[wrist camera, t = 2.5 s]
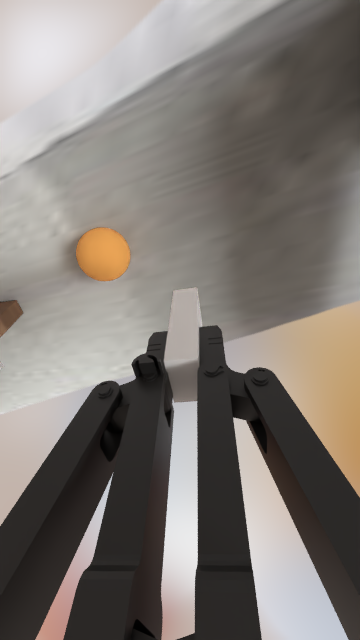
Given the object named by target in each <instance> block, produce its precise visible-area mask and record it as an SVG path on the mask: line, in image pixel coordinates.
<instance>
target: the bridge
mask: <svg viewBox="0 0 360 640" xmlns="http://www.w3.org/2000/svg"><path fill="white" fill-rule="evenodd" d="M22 314H23V311H22V309H21V308H20V306H19V304H18V302H17V300H14V301H6V302H0V337H1V336H2V335H3V334H4V333H5V332H6V331H7V330H8V329H9V328H10V327H11V326H12V325H13V324H14V323H15V321H16V320H17V319H18V318H19V317H20V316H21V315H22Z"/></svg>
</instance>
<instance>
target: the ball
mask: <svg viewBox="0 0 360 640" xmlns="http://www.w3.org/2000/svg"><path fill="white" fill-rule="evenodd" d="M76 257H77V261H78V264H79V266H80V268H81V269H82V270H83V272H84V273H85V274H87V275H88V276H89V277H91V278H93V279H95V280H98V281H111V280H114V279H116V278H118V277H120V276H121V275H122V274H123V273H124V272H125V271H126V269H127V268H128V265H129V262H130V249H129V246H128V244H127V242H126V240H125V239H124V238H123V237H122V236H121V235H120V234H119V233H118V232H116V231H114V230H112V229H109V228H95V229H92V230H89V231H88V232H86V233H85V234H84V235H83V236H82V237H81V238H80V240H79V242H78V245H77V248H76Z"/></svg>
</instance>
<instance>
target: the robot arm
mask: <svg viewBox="0 0 360 640" xmlns="http://www.w3.org/2000/svg"><path fill="white" fill-rule="evenodd" d="M132 367H133V370H134V373H135V376H136V379H135V380H133V381H131V382H129V383H126V384H123V385H120V386H119V385H118V383H116V382H114V381H105V382H102V383H100V384H99V385H97V386H96V387H95V388H94V389H93V390H92V392H91V393H90V395H89V396H88V397H87V399H86V400H85V402H84V403H83V405H82V406H81V408H80V409H79V411H78V412H77V414H76V415H75V417H74V418H73V420H72V421H71V423H70V424H69V426H68V427H67V429H66V430H65V431H64V433H63V434H62V436H61V437H60V439H59V440H58V442H57V443H56V445H55V446H54V448H53V449H52V451H51V452H50V454H49V455H48V457H47V458H46V460H45V461H44V462H43V464H42V465H41V467H40V468H39V470H38V471H37V473H36V474H35V476H34V477H33V479H32V480H31V482H30V483H29V485H28V486H27V488H26V489H25V490H24V492H23V493H22V495H21V496H20V498H19V499H18V501H17V502H16V504H15V505H14V507H13V508H12V510H11V511H10V513H9V514H8V516H7V517H6V519H5V520H4V522H3V523H2V524H1V526H0V640H35V639H36V637H37V635H38V633H39V631H40V629H41V626H42V624H43V622H44V620H45V618H46V615H47V614H48V611H49V609H50V607H51V605H52V603H53V601H54V599H55V596H56V594H57V592H58V590H59V588H60V586H61V583H62V581H63V579H64V577H65V575H66V573H67V571H68V568H69V566H70V564H71V562H72V560H73V558H74V556H75V553H76V551H77V549H78V547H79V545H80V542H81V540H82V538H83V536H84V534H85V532H86V530H87V528H88V525H89V523H90V521H91V519H92V517H93V515H94V512H95V510H96V508H97V506H98V504H99V502H100V500H101V497H102V495H103V493H104V491H105V489H106V487H107V484H108V482H109V480H110V478H111V476H112V474H113V477H112V481H111V486H110V490H109V494H108V498H107V502H106V507H105V511H104V515H103V519H102V524H101V528H100V532H99V536H98V540H97V545H96V549H95V553H94V557H93V560H92V562H91V564H90V566H89V567H88V568H87V569H86V570H85V571H84V572H83V574H82V576H81V578H80V580H79V583H78V586H77V589H76V593H75V597H74V601H73V604H72V609H71V612H70V616H69V620H68V624H67V628H66V632H65V635H64V639H63V640H161V636H162V635H161V634H162V601H161V581H162V567H163V553H164V538H165V526H166V511H167V499H168V485H169V471H170V457H171V444H172V430H173V416H174V410H173V406H172V399H174V402H188V401H198V403H197V406H198V407H197V415H198V416H197V417H198V421H197V423H198V424H197V425H198V427H197V428H198V565H197V569H196V577H195V633H194V634H191V635H189V636H186V637H183V638H180V639H177V640H262V639H261V631H260V623H259V616H258V607H257V600H256V592H255V584H254V577H253V570H252V564H251V558H250V549H249V541H248V533H247V525H246V518H245V509H244V501H243V494H242V485H241V477H240V469H239V462H238V454H237V446H236V438H235V430H234V423H233V417H234V418H239V419H243V420H246V421H247V424H248V426H249V428H250V430H251V432H252V434H253V436H254V438H255V441H256V443H257V445H258V447H259V449H260V451H261V453H262V456H263V458H264V460H265V462H266V464H267V466H268V468H269V470H270V473H271V475H272V477H273V479H274V481H275V483H276V485H277V487H278V490H279V492H280V494H281V496H282V498H283V500H284V502H285V505H286V507H287V509H288V511H289V513H290V515H291V517H292V519H293V522H294V524H295V526H296V528H297V530H298V532H299V534H300V536H301V539H302V541H303V543H304V545H305V547H306V549H307V551H308V554H309V556H310V558H311V560H312V562H313V564H314V566H315V569H316V571H317V573H318V575H319V577H320V579H321V581H322V584H323V586H324V588H325V590H326V592H327V594H328V596H329V598H330V600H331V603H332V604H333V607H334V609H335V611H336V613H337V616H338V617H339V620H340V622H341V624H342V626H343V628H344V630H345V633H346V635H347V637H348V639H349V640H360V497H359V496H358V495H357V493H356V492H355V490H354V489H353V487H352V486H351V484H350V483H349V481H348V480H347V479H346V477H345V476H344V474H343V473H342V471H341V470H340V468H339V467H338V465H337V464H336V463H335V461H334V460H333V458H332V457H331V455H330V454H329V452H328V451H327V449H326V448H325V447H324V445H323V444H322V442H321V441H320V439H319V438H318V436H317V435H316V434H315V432H314V431H313V429H312V428H311V426H310V425H309V423H308V422H307V420H306V419H305V417H304V416H303V415H302V413H301V412H300V410H299V409H298V407H297V406H296V404H295V403H294V402H293V400H292V399H291V397H290V396H289V394H288V393H287V391H286V390H285V389H284V387H283V386H282V384H281V383H280V381H279V380H278V378H277V377H276V376H275V374H274V373H273V372H272V371H270V370H268V369H266V368H260V367H259V368H253V369H250V370H248V371H247V373H245V374H243V373H238V372H235V371H232V370H231V369H230V368H229V367H228V366H227V365H226V361H225V354H224V346H223V338H222V331H221V329H220V328H219V327H218V326H217V325H216V326H207V327H202V318H201V311H200V304H199V297H198V290H197V287H194V288H186V289H178V290H173V297H172V304H171V311H170V319H169V326H168V331H164V332H155V333H153V335H152V336H151V337H150V338H149V342H148V347H147V351H146V354H142V355H140V356H138V357H137V358H135V359H134V360H133V362H132ZM113 472H114V473H113Z"/></svg>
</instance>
